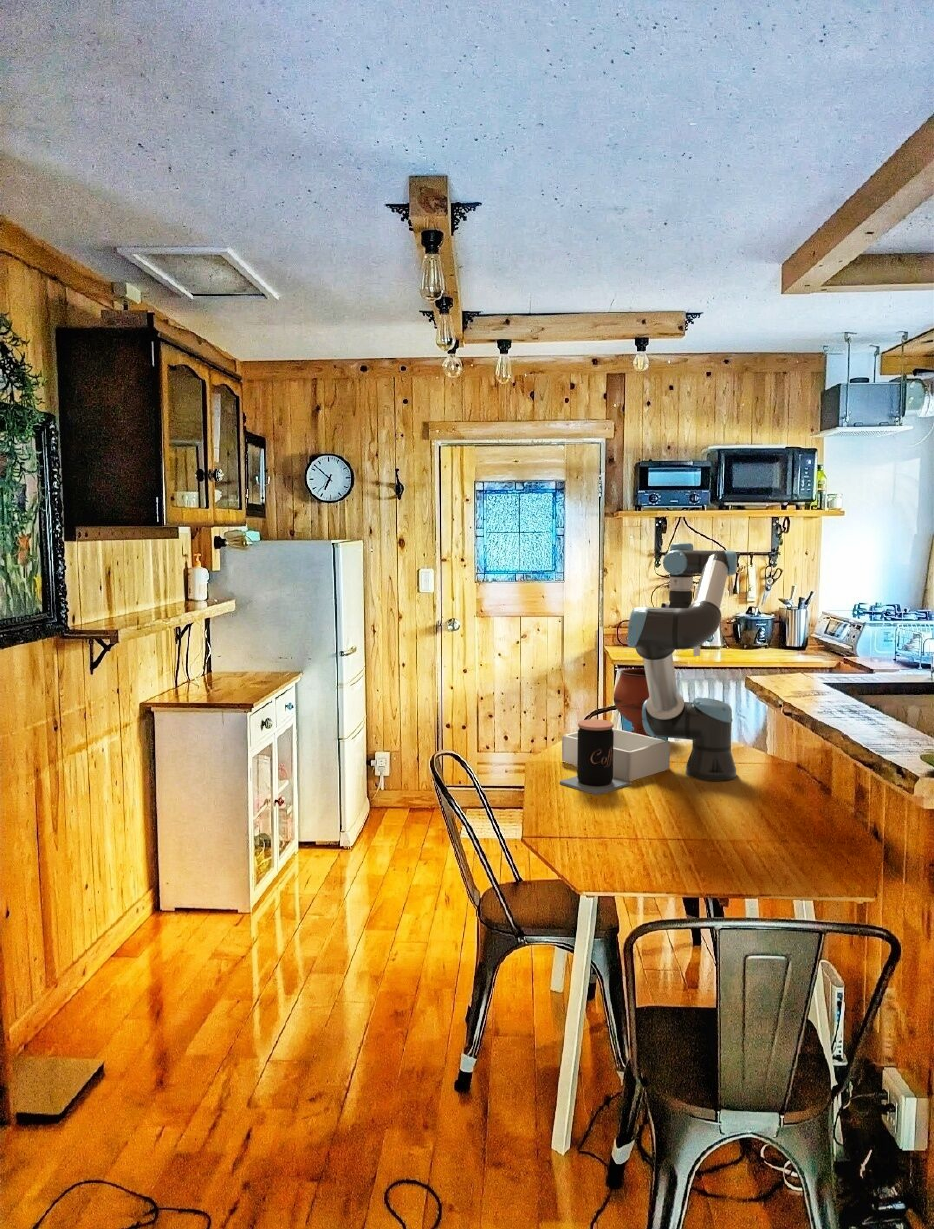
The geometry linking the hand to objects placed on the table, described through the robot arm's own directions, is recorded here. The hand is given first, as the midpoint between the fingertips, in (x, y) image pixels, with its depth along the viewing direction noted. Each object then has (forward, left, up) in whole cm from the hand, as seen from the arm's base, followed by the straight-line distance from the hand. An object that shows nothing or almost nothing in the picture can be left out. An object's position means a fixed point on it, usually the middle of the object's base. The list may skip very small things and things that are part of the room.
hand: (679, 653), depth 292 cm
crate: (+6, +25, -35) cm, 43 cm away
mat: (-3, +45, -35) cm, 57 cm away
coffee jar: (-3, +45, -34) cm, 57 cm away
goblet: (+22, -8, -35) cm, 42 cm away
